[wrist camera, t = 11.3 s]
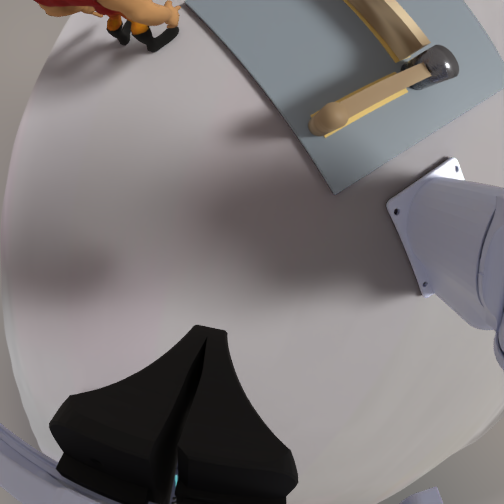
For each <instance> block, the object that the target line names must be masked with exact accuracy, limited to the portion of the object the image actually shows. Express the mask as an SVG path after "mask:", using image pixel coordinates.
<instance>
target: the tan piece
mask: <svg viewBox="0 0 504 504" xmlns="http://www.w3.org/2000/svg"><path fill="white" fill-rule="evenodd" d="M347 1H348V2H349V3H350V4H351V5H352V6H353V7H354V8H355V9H356V10H357V11H358V12H359V13H360V14H361V15H362V16H363V17H364V18H365V19H366V20H367V21H368V22H369V23H370V24H371V26H372V27H373V28H374V29H375V30H376V31H377V32H378V34H379V35H380V36H381V37H382V38H383V40H384V41H385V42H386V43H387V44H388V46H389V47H390V48H391V49H392V51H393V52H394V53H395V55H396V56H397V57H398V59H399V60H400V61H401V60H403V59H405V58H407V57H409V56H411V55H412V54H414V53H415V52H417V51H418V50H420V49H422V48H423V47H425V46H426V45H428V44H430V43H431V42H430V41H429V39H428V38H427V37H426V35H425V34H424V33H423V32H422V30H421V29H420V28H419V27H418V25H417V24H416V23H415V22H414V20H413V19H412V18H411V17H410V16H409V15H408V13H407V12H406V11H405V10H404V9H403V8H402V7H401V6H400V5H399V3H398V2H397V1H396V0H347Z"/></svg>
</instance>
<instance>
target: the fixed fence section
mask: <svg viewBox="0 0 504 504" xmlns="http://www.w3.org/2000/svg"><path fill="white" fill-rule="evenodd" d="M430 76H432V75H431V74H430V72H429V71H428V69H427V67H426V66H425V64H424V63H423V62H422V63H420V64H418V65H415V66H413V67H411V68H408V69H406V70H404V71H402V72H399V73H397V74H395V75H393V76H391V77H389V78H386V79H384V80H382V81H380V82H378V83H376V84H374V85H372V86H370V87H368V88H366V89H364V90H362V91H360V92H358V93H356V94H354V95H352V96H350V97H349V98H347V99H345V100H343V101H341V102H339V103H337V102H330V103H328V104H326V105H325V106H324V107H323V108H322V109H321V110H320V111H319V112H318V113H316V114H315V115H314V116H313V117H312V118H311V119H310V120H309V123H308V128H309V131H310V132H311V133H312V134H313V135H315V136H324V135H326V134H328V133H330V132H332V131H334V130H337V129H339V128H341V127H343V126H344V125H346V123H347V122H348V119H349V118H350V117H352V116H354V115H356V114H358V113H359V112H361V111H363V110H365V109H367V108H369V107H370V106H372V105H374V104H376V103H378V102H380V101H382V100H384V99H385V98H387V97H389V96H391V95H393V94H395V93H397V92H399V91H401V90H403V89H405V88H407V87H409V86H411V85H413V84H415V83H417V82H419V81H421V80H423V79H426V78H428V77H430Z"/></svg>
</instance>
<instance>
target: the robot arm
mask: <svg viewBox="0 0 504 504" xmlns="http://www.w3.org/2000/svg"><path fill="white" fill-rule="evenodd" d="M455 167H456V171H455V170H454V168H455ZM386 207H387V210H388V212H389V214H390V216H391V218H392V221H393V223H394V225H395V227H396V229H397V232H398V234H399V236H400V239H401V241H402V243H403V246H404V248H405V250H406V253H407V255H408V258H409V260H410V263H411V266H412V268H413V271H414V274H415V276H416V279H417V282H418V285H419V288H420V291H421V293H422V296H423V297H425V298H428V297H430V296H431V295H432V294H434V293H435V294H436V295H437V296H438V297H439V298H440V299H442V300H443V301H444V302H445V303H446V304H447V305H448V306H449V307H451V308H452V309H453V310H454V311H455V312H456V313H457V314H458V315H459V316H460V317H461V318H462V319H464V320H465V321H466V322H467V323H468V324H469V325H471V326H472V327H475V328H477V329H482V330H495V331H496V334H495V338H494V353H495V356H496V359H497V361H498V363H499V365H500V367H501V368H502V369H503V370H504V188H502V187H498V186H493V185H488V184H482V183H477V182H471V181H465V180H464V177H463V174H462V171H461V169H460V166H459V163H458V161H457V159H456V158H454V157H451V158H449V159H447V160H446V161H445V162H443V163H442V164H440V165H439V166H438V167H436V168H435V169H433V170H432V171H430V172H429V173H428V174H426V175H425V176H423V177H422V178H420V179H419V180H418V181H416V182H415V183H413V184H412V185H410V186H409V187H407V188H406V189H404V190H403V191H401V192H400V193H399V194H397V195H396V196H394V197H393V198H391V199H390V200H389V201H388V202H387V205H386ZM395 209H397V211H398V212H397V214H396V215H395V214H394V210H395ZM424 282H425V284H424V285H423V283H424ZM49 428H50V431H51V433H52V435H53V437H54V438H55V440H56V442H57V443H58V445H59V446H60V448H61V449H62V451H63V452H64V453H63V455H62V457H61V459H60V461H59V463H58V462H56V461H55V460H53V459H51V458H50V457H48V456H46V455H45V454H43V453H42V452H40V451H38V450H37V449H35V448H33V447H32V446H31V445H29V444H28V443H26V442H25V441H24V440H22V439H21V438H19V437H18V436H16V435H15V434H14V433H13V432H11V431H10V430H8V429H7V428H6V427H5V426H4V425H2V424H1V423H0V486H1V487H2V488H3V489H4V490H6V491H7V492H8V493H10V494H11V495H12V496H13V497H14V498H16V499H17V500H18V501H20V502H21V503H23V504H170V498H171V493H172V487H173V482H174V477H175V472H176V467H177V463H178V480H177V484H176V489H175V494H174V495H175V496H176V503H177V504H286V496H287V495H288V494H289V493H290V492H291V491H292V490H293V489H294V488H295V487H296V485H297V484H298V473H297V469H296V465H295V461H294V458H293V455H292V453H291V450H290V449H288V448H287V447H286V446H285V445H284V444H283V443H282V442H281V441H280V440H279V439H278V438H277V437H276V436H275V435H274V434H273V432H272V431H271V430H270V429H269V428H268V427H267V425H266V424H265V423H264V422H263V420H262V419H261V418H260V416H259V415H258V413H257V412H256V411H255V409H254V408H253V406H252V405H251V403H250V401H249V400H248V398H247V396H246V394H245V392H244V390H243V388H242V386H241V384H240V382H239V380H238V377H237V375H236V372H235V369H234V366H233V363H232V360H231V356H230V352H229V348H228V341H227V332H226V331H225V330H220V329H215V328H210V327H205V326H201V325H195V326H193V327H192V329H191V330H190V331H189V332H188V333H187V334H186V335H185V336H184V337H183V338H182V339H181V340H180V341H179V342H178V343H177V344H176V345H175V346H174V347H172V348H171V349H170V350H169V351H168V352H167V353H165V354H164V355H163V356H161V357H160V358H159V359H157V360H156V361H155V362H153V363H152V364H150V365H149V366H147V367H146V368H144V369H142V370H141V371H139V372H137V373H135V374H133V375H131V376H129V377H128V378H126V379H123V380H121V381H119V382H117V383H114V384H111V385H109V386H106V387H103V388H100V389H97V390H93V391H89V392H85V393H80V394H75V395H70V396H69V397H68V398H67V399H66V401H65V402H64V403H63V404H62V405H61V407H60V408H59V409H58V411H57V412H56V414H55V415H54V417H53V418H52V420H51V421H50V423H49ZM399 504H443V501H442V499H441V496H440V493H439V491H438V488H437V487H436V486H435V487H432V488H429V489H427V490H424V491H421V492H418V493H415V494H413V495H411V496H409V497H407V498H405V499H404V500H403V501H401V502H400V503H399Z"/></svg>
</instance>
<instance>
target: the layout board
mask: <svg viewBox="0 0 504 504" xmlns="http://www.w3.org/2000/svg"><path fill="white" fill-rule="evenodd" d="M396 1H397V2H398V3H399V5H400V6H401V7H402V8H403V9H404V10H405V11H406V12H407V13H408V15H409V16H410V17H411V18H412V19H413V20H414V22H415V23H416V24H417V25H418V27H419V28H420V29H421V30H422V32H423V33H424V34H425V35H426V37H427V38H428V39H429V41H430V42H431V43H430V44H428V45H426V46H425V47H423V48H422V49H420V50H418V51H417V52H415V53H414V54H412V55H411V56H409V57H407V58H405V59H403V60H401V61H400V60H399V59H398V57H397V56H396V55H395V53H394V52H393V51H392V49H391V48H390V47H389V46H388V44H387V43H386V42H385V41H384V40H383V38H382V37H381V36H380V35H379V34H378V32H377V31H376V30H375V29H374V28H373V27H372V26H371V24H370V23H369V22H368V21H367V20H366V19H365V18H364V17H363V16H362V15H361V14H360V13H359V12H358V11H357V10H356V9H355V8H354V7H353V6H352V5H351V4H350V3H349V2H348V1H347V0H186V1H185V3H186V5H187V6H188V7H189V8H190V9H192V10H193V11H194V12H195V13H196V14H197V15H198V16H199V17H200V18H201V19H202V21H203V22H204V23H205V24H206V25H207V26H208V27H209V28H210V29H211V30H212V31H213V32H214V33H215V34H216V35H217V36H218V37H219V39H220V40H221V41H222V42H223V43H224V44H225V45H226V46H227V47H228V49H229V50H230V51H231V52H232V53H233V54H234V55H235V57H236V58H237V59H238V60H239V61H240V62H241V64H242V65H243V66H244V67H245V68H246V70H247V71H248V72H249V73H250V75H251V76H252V77H253V78H254V79H255V81H256V82H257V83H258V84H259V86H260V87H261V88H262V90H263V91H264V92H265V93H266V95H267V96H268V97H269V99H270V100H271V101H272V103H273V104H274V105H275V107H276V108H277V109H278V111H279V112H280V114H281V115H282V116H283V118H284V119H285V120H286V122H287V123H288V125H289V126H290V128H291V129H292V130H293V132H294V133H295V135H296V136H297V138H298V139H299V141H300V142H301V144H302V145H303V147H304V148H305V150H306V151H307V153H308V154H309V156H310V157H311V159H312V160H313V162H314V163H315V165H316V166H317V168H318V170H319V171H320V173H321V174H322V176H323V178H324V179H325V181H326V183H327V184H328V186H329V188H330V189H331V191H332V193H333V194H334V195H336V194H338V193H339V192H341V191H342V190H344V189H345V188H347V187H349V186H350V185H352V184H353V183H355V182H356V181H358V180H360V179H361V178H363V177H364V176H366V175H367V174H369V173H371V172H372V171H374V170H375V169H377V168H378V167H380V166H382V165H383V164H385V163H386V162H388V161H389V160H391V159H393V158H394V157H396V156H397V155H399V154H401V153H402V152H404V151H405V150H407V149H408V148H410V147H412V146H413V145H415V144H416V143H418V142H419V141H421V140H423V139H424V138H426V137H427V136H429V135H431V134H432V133H434V132H435V131H437V130H438V129H440V128H442V127H443V126H445V125H446V124H448V123H450V122H451V121H453V120H454V119H456V118H457V117H459V116H461V115H462V114H464V113H465V112H467V111H469V110H470V109H472V108H473V107H475V106H477V105H478V104H480V103H481V102H483V101H485V100H486V99H488V98H489V97H491V96H493V95H494V94H496V93H497V92H499V91H501V90H502V89H504V62H503V60H502V58H501V56H500V55H499V53H498V51H497V49H496V48H495V46H494V44H493V43H492V41H491V39H490V38H489V36H488V35H487V33H486V31H485V30H484V28H483V27H482V25H481V24H480V23H479V21H478V20H477V18H476V17H475V15H474V14H473V13H472V11H471V10H470V9H469V7H468V6H467V5H466V3H465V2H464V1H463V0H396ZM434 45H442V46H444V47H446V48H447V49H449V50H450V51H451V52H452V54H453V55H454V56H455V58H456V60H457V62H458V65H459V74H458V76H457V77H454V78H452V79H449V80H446V81H443V82H440V83H438V84H435V85H432V86H430V87H427V88H425V89H422V90H414V89H412V88H410V87H407V88H405V89H403V90H401V91H399V92H397V93H395V94H393V95H391V96H389V97H387V98H385V99H384V100H382V101H380V102H378V103H376V104H374V105H372V106H370V107H369V108H367V109H365V110H363V111H361V112H359V113H358V114H356V115H354V116H352V117H350V118H349V119H348V122H347V123H346V125H344V126H343V127H341V128H339V129H337V130H334V131H332V132H330V133H328V134H326V135H324V136H315V135H313V134H312V133H311V132H310V131H309V128H308V123H309V120H310V119H311V118H312V117H313V116H314V115H315V114H316V113H318V112H319V111H320V110H321V109H322V108H323V107H324V106H325V105H326V104H328V103H330V102H337V103H339V102H341V101H343V100H345V99H347V98H349V97H350V96H352V95H354V94H356V93H358V92H360V91H362V90H364V89H366V88H368V87H370V86H372V85H374V84H376V83H378V82H380V81H382V80H384V79H386V78H389V77H391V76H393V75H395V74H397V73H399V72H401V67H402V65H403V64H404V63H406V62H408V61H409V60H411V59H412V58H414V57H416V56H417V55H419V54H421V53H422V52H424V51H426V50H427V49H429V48H431V47H432V46H434Z"/></svg>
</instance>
